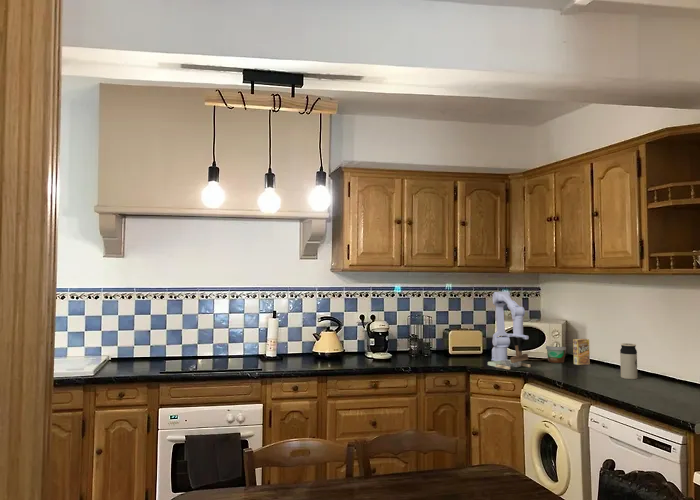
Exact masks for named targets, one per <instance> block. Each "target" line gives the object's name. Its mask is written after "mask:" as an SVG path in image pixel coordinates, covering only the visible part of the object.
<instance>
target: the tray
mask: <svg viewBox="0 0 700 500" xmlns="http://www.w3.org/2000/svg"><path fill="white" fill-rule="evenodd" d="M509 360H510V361H511V359H509ZM496 364H499V365H501V360H500V361H493V360H491V361H487V366H491V367H495V368H497V367H496Z"/></svg>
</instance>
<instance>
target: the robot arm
mask: <svg viewBox="0 0 700 500" xmlns="http://www.w3.org/2000/svg"><path fill="white" fill-rule="evenodd" d="M511 296H512V295H511V293H510V291H494V292H493V293H492V304H493V305H494V307H495V320H496V332H494V333H493V335H492V340H491V341H492V345H493V347H492V349H491V359H490V360H491V361H500V360H508V348H509V346H510V345H511V342H512V345H513V349H514V351H516V349H515V346H517V345H518V350H519V351H522V352H523V348H524V344H525V343H526V341H527V340H529V338H530V337H529V335H525V334H524V317H525V314H526V312H525V311H526V310H525V308H524V306H520V305H519V303H517V302H516V301H515V300H513V299H512V298H511ZM505 306H507V308H508V310H509V311H510V313H511V319H512V332H513V333H508V332H506V325H505V311H504V307H505Z"/></svg>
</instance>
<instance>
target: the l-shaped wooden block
mask: <svg viewBox="0 0 700 500" xmlns="http://www.w3.org/2000/svg"><path fill="white" fill-rule="evenodd" d="M515 349H516V350H515ZM515 349H514V350H515V355H514V356H512V357H510V360H511V363H516V362H519V361H521V362H523V361H526V360H529V354H528V353H523V350H522V351H519V350H518V345H517V346H515Z"/></svg>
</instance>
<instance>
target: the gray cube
mask: <svg viewBox="0 0 700 500" xmlns="http://www.w3.org/2000/svg"><path fill="white" fill-rule="evenodd" d="M521 363H522V361H519V362H516V363H511V367H515V368H520V367H522V366H521Z"/></svg>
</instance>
